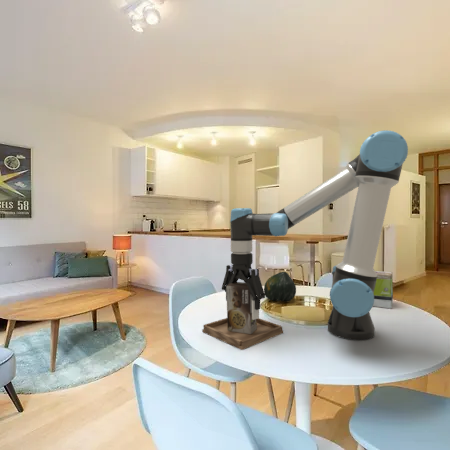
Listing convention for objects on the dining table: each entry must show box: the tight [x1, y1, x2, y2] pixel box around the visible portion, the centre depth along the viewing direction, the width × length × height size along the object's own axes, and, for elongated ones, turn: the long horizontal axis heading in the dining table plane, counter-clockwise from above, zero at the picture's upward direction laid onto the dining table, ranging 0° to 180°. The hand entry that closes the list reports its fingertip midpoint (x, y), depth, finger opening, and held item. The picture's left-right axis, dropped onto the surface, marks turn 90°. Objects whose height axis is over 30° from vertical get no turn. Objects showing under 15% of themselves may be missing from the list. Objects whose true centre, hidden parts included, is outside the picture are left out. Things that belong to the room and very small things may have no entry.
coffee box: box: [226, 281, 257, 334], centre depth 105 cm, size 9×6×16 cm
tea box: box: [372, 270, 394, 309], centre depth 137 cm, size 15×10×15 cm
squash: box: [263, 271, 297, 303], centre depth 145 cm, size 14×15×15 cm
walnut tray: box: [201, 317, 284, 351], centre depth 105 cm, size 20×20×2 cm
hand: (242, 314), depth 105 cm, fingers open, 12 cm apart
